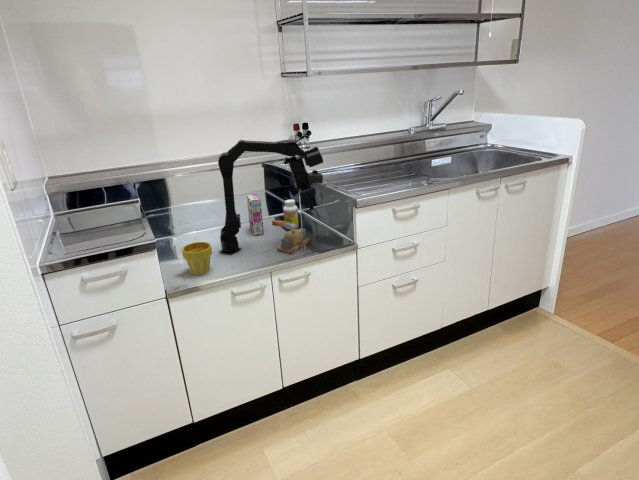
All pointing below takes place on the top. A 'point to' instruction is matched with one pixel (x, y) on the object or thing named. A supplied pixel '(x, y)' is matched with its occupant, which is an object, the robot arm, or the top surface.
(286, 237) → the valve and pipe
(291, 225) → the valve lever
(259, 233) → the candy bar box
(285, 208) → the supplement bottle
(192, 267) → the plant pot
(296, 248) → the walnut mounting plank
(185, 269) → the top surface
